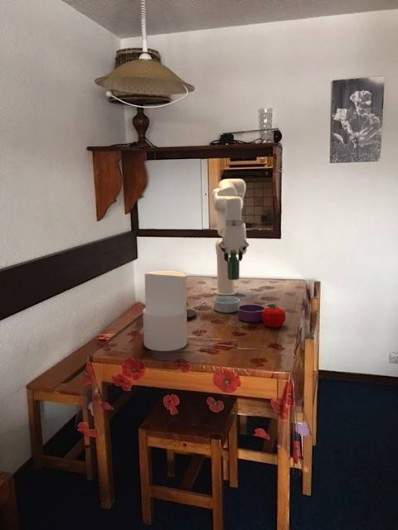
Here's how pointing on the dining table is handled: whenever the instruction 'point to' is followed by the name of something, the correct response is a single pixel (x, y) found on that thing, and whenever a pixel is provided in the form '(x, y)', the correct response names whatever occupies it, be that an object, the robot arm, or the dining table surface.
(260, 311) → the plum bowl
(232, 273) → the bottle
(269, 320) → the apple
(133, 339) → the dining table surface
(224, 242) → the robot arm
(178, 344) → the cylinder
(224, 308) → the pale bowl
